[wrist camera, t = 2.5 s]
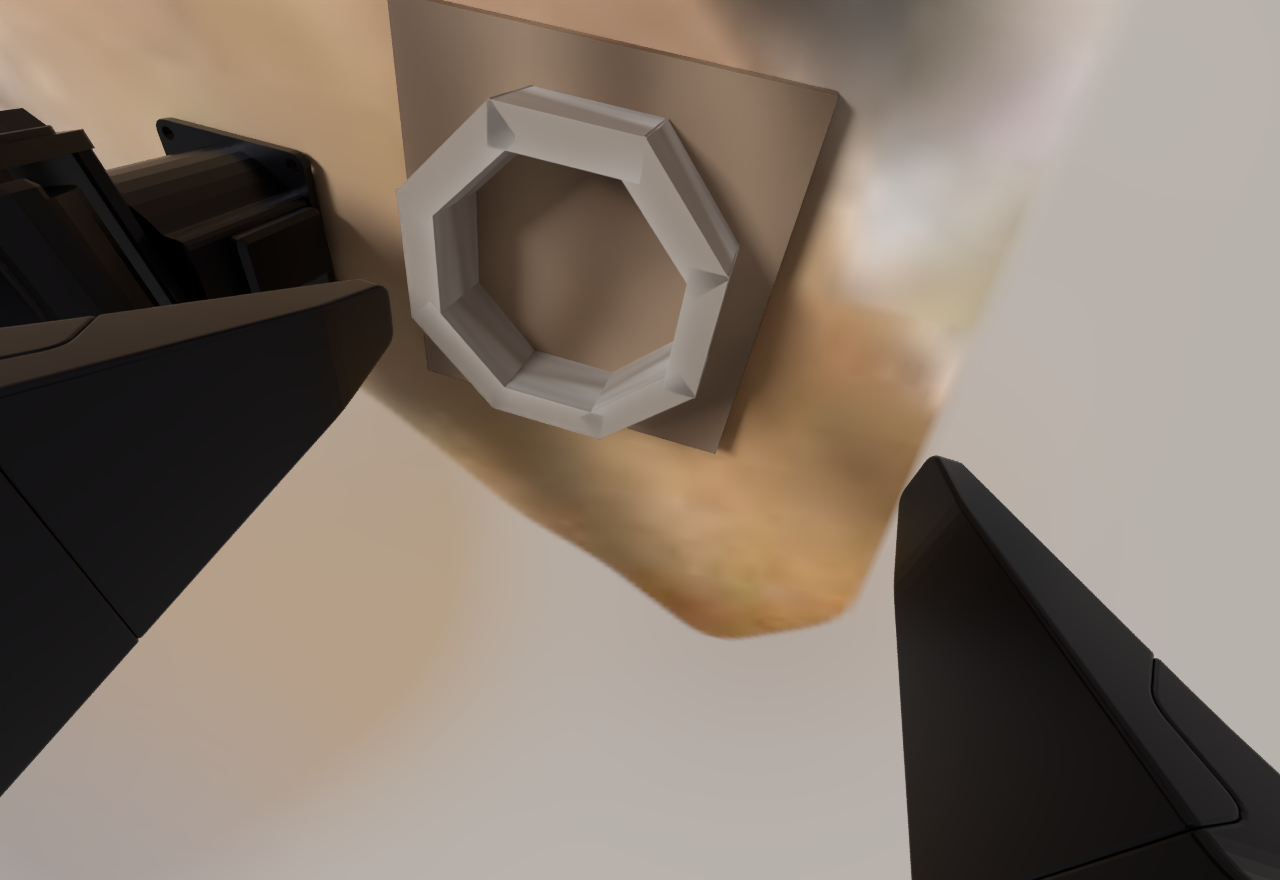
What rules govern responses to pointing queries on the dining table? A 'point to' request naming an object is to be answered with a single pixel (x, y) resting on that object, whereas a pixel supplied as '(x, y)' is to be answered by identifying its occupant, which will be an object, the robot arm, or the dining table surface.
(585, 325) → the ring holder
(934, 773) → the robot arm
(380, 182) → the dining table surface
